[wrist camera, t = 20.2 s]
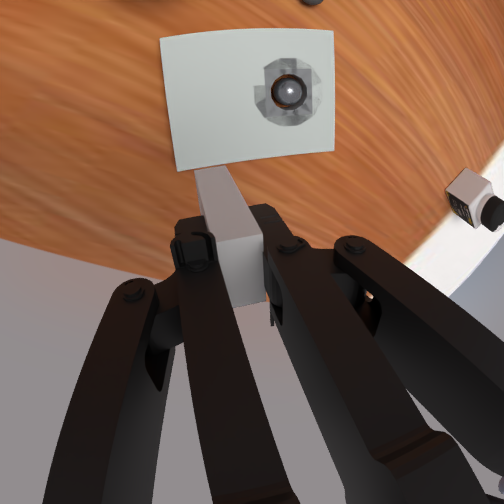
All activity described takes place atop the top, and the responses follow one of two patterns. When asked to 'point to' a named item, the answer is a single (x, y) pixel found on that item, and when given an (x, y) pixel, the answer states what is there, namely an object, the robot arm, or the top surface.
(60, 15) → the top surface
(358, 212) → the top surface
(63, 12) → the top surface
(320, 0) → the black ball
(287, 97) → the steel ball
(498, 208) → the medicine bottle
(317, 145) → the board
